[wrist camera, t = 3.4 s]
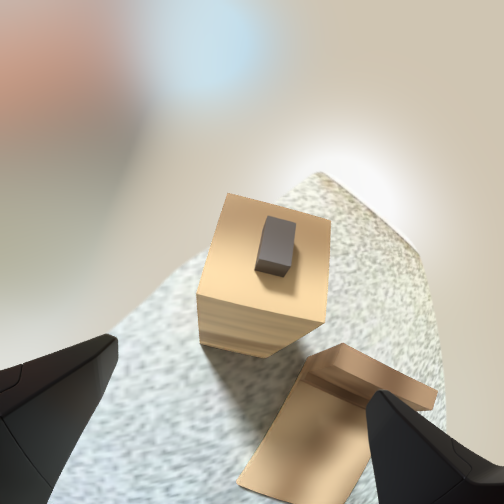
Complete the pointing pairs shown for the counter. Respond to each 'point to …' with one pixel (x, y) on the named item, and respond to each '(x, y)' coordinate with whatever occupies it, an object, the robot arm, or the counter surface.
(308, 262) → the cabinet block
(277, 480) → the cleat board
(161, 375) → the counter surface
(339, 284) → the counter surface
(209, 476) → the counter surface
